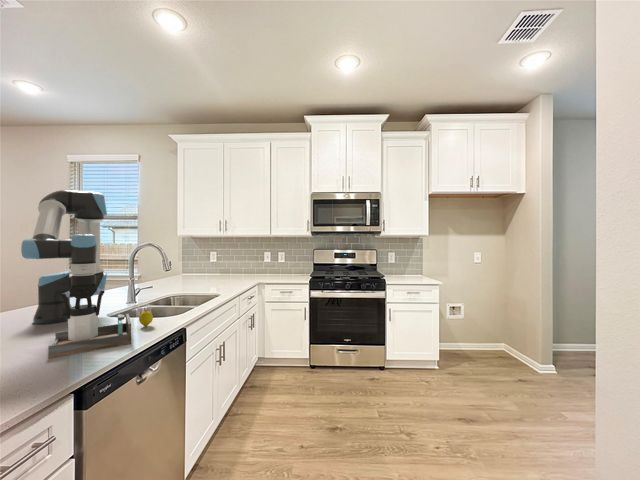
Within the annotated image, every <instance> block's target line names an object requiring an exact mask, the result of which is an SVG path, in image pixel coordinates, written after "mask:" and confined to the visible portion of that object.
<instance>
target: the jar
mask: <svg viewBox="0 0 640 480" xmlns="http://www.w3.org/2000/svg"><path fill="white" fill-rule="evenodd" d="M96 306H97V304H93V303H92V306H90V307H88V304H87V303H86V304H80V307H79V308H75V305H74V306H71V308H70V319H68V320H67V327H68V328H67V331H68V340H71V341H74V342H76V341H82V340H89V339H91V338H93V337H95V336H97V335H98V327H99V325H98V324H99V318H98V317H99V315H98V316H96V313H95V312H96Z"/></svg>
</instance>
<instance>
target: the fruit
mask: <svg viewBox="0 0 640 480" xmlns="http://www.w3.org/2000/svg"><path fill="white" fill-rule="evenodd" d="M153 320H154V316H153V313H152V311H149V310H148V309H145V310H144V311H142V312H141V313H140V315H139V318H138V321H139V324H141V326H142V325H143V327H145V328H146V327H148V326H149V325H150V324H151V323H152V322H153Z"/></svg>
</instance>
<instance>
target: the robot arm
mask: <svg viewBox="0 0 640 480" xmlns="http://www.w3.org/2000/svg"><path fill="white" fill-rule="evenodd" d="M105 199H106V198H105V195H104V194H103V193H101V192H95V191H85V190H84V191H83V190H70V189H60V190H56V191H54V192H51V193H49V194H47V195H46V196H44V197H43V198H41V200H40V201H39V203H38V206H37V210H38V212H39V215H38V217H37V221H36V225H35V228H34V232H33V235H32V238H29V239H28V238H27V239H24V240H22V241H21V247H20V252H21V256H22V257H23V258H24V259H27V260H29V259H32V260H42V259H43V260H44V259H45V260H46V259H49V260H50V259H71V260H70V261H71V262H70V271H60V272H51V273H49V274H44V275H41V276H39V278H38V283H37V287H38V289H37V290H38V291H37V292H38V293H37V297H38V299H37V300H38V302H37V308H36V311H35V313H34V315H33V318H32V322H33V324H36V325H47V324H48V325H49V324H56V323H61V322H62V323H63V322H68V319H70V308H71V307H72V304H71V298H75V304H74V306H75V308H79V307H80V305H81V300H83V299H86V305H87V304H88V307H90V306H92V304H93V303H92V297H93V296H97V300H96V312H95V313H96V316H98V317H99V316H100V309H101V303H102V298H103V295H104V294H105V289H106V283H107V275H108V273H107V272H104V269H103V268H102V267H101V222H103V221H104V219H105V218H104V217H106V216H107V215H108V213H107V206H106V200H105ZM65 215H74V219H75V221H77V222H78V234H73V235H72V236H71V238H70V239H69V238H68V239H65V238H64V239H63V238H61V239H60V238H59V236H60V230H61V225H62V220H63V217H64V216H65Z"/></svg>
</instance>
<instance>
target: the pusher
mask: <svg viewBox="0 0 640 480" xmlns="http://www.w3.org/2000/svg"><path fill="white" fill-rule="evenodd" d="M123 320H125V315H124V314H117V324H118V335H121V334H122V323H123Z"/></svg>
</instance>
